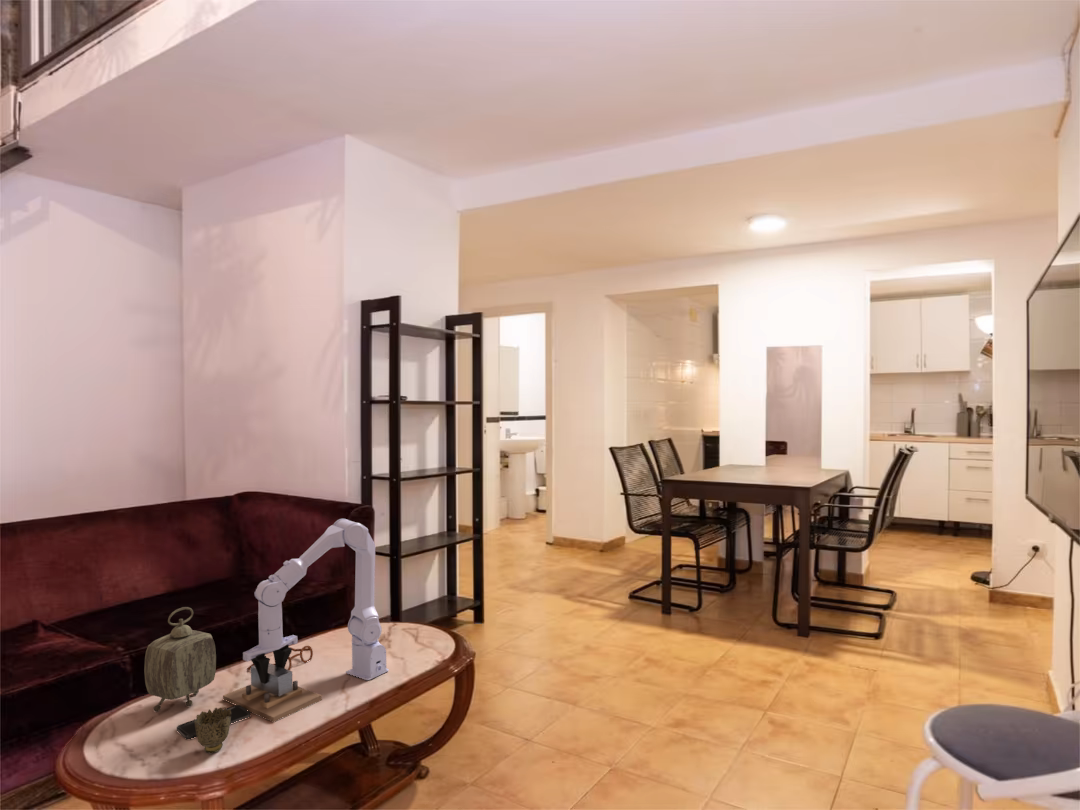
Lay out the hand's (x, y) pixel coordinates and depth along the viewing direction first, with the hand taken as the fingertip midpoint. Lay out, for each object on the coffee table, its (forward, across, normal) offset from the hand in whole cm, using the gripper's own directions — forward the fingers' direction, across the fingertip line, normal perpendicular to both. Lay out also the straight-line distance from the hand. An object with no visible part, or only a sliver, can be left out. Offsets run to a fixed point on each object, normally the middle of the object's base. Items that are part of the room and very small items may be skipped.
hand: (271, 679), depth 173 cm
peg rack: (+5, 0, 0) cm, 5 cm away
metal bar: (+2, 0, 0) cm, 2 cm away
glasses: (+6, -16, -19) cm, 25 cm away
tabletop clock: (+6, +14, -17) cm, 23 cm away
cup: (+6, +22, +11) cm, 25 cm away
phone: (+6, +15, -1) cm, 16 cm away
